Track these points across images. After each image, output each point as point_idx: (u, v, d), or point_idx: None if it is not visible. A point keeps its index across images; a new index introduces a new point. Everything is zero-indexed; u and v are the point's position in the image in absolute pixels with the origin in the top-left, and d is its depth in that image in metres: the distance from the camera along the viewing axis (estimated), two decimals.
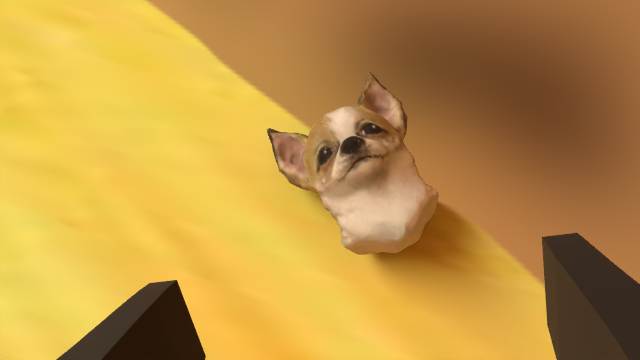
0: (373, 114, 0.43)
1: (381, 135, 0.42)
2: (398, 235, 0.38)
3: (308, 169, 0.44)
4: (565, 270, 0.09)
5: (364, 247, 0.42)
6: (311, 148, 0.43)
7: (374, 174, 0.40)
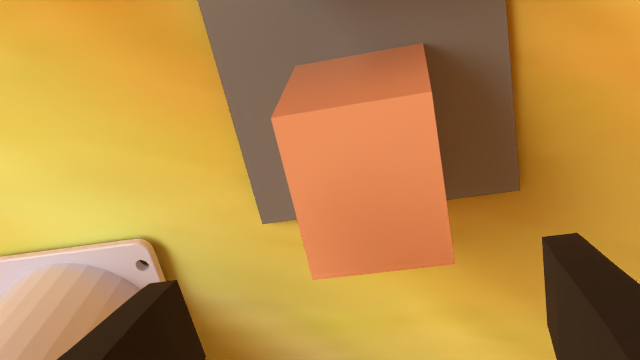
0: None
1: None
2: None
3: None
4: (565, 270, 0.09)
5: None
6: None
7: None
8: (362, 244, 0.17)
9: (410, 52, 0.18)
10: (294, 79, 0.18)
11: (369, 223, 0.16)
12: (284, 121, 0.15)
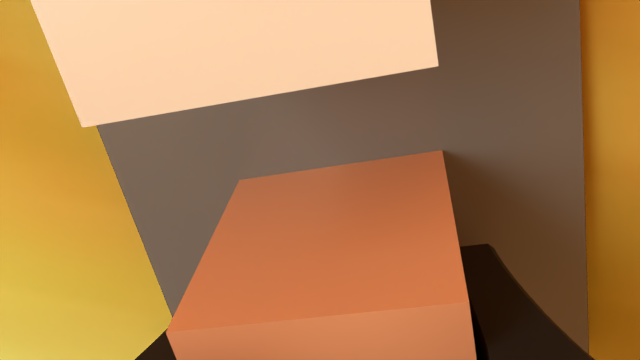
0: None
1: None
2: None
3: None
4: None
5: None
6: None
7: None
8: None
9: (423, 172, 0.11)
10: (230, 216, 0.11)
11: None
12: (191, 338, 0.08)
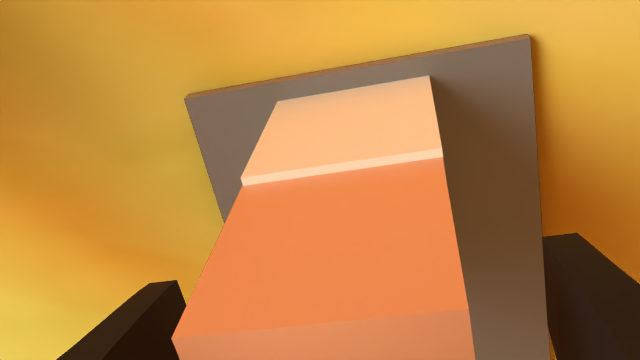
0: None
1: None
2: None
3: None
4: (565, 270, 0.09)
5: None
6: None
7: None
8: None
9: (423, 179, 0.11)
10: (234, 222, 0.11)
11: None
12: (196, 344, 0.08)
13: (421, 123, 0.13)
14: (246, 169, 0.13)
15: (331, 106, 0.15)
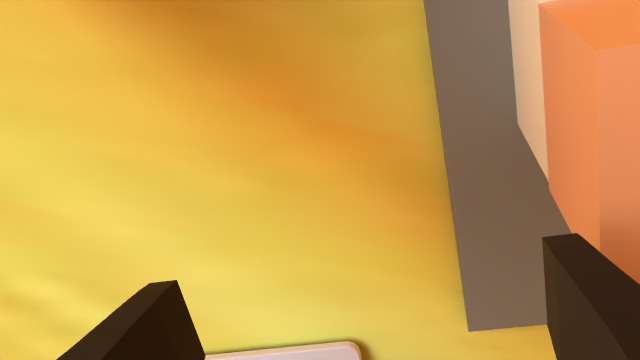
0: None
1: None
2: None
3: None
4: (565, 270, 0.09)
5: None
6: None
7: None
8: None
9: None
10: (561, 14, 0.13)
11: None
12: (615, 56, 0.10)
13: None
14: None
15: None
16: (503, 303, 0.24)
